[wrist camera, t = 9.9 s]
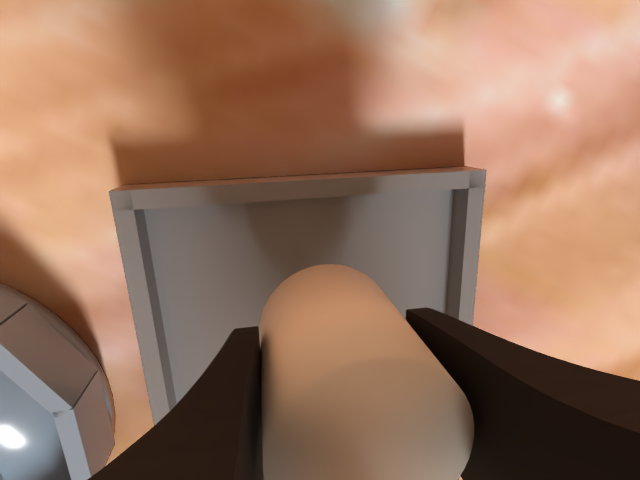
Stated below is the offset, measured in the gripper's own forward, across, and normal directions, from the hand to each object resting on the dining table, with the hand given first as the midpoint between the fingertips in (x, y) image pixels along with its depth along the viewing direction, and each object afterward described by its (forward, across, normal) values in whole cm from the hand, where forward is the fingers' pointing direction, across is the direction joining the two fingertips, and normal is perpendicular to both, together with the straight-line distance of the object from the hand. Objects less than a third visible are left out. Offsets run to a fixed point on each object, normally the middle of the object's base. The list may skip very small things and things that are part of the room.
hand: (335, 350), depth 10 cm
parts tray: (+5, 0, +3) cm, 6 cm away
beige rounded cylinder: (+1, 0, 0) cm, 1 cm away
